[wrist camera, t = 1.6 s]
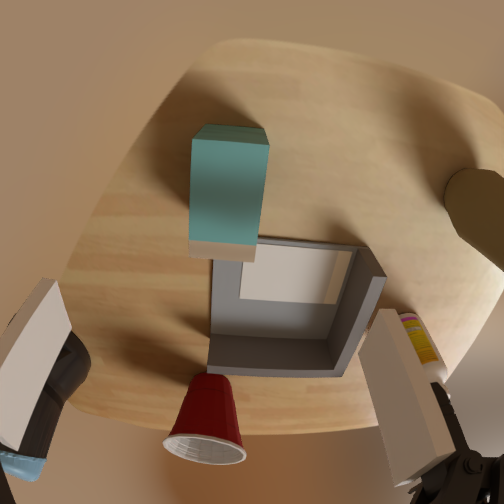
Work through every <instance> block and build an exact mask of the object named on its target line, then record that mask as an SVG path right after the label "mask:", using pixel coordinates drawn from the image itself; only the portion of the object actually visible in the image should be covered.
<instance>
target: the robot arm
mask: <svg viewBox="0 0 504 504" xmlns="http://www.w3.org/2000/svg"><path fill="white" fill-rule="evenodd" d="M71 329H72V327H71V324H70V321H69V318H68V315H67V312H66V309H65V306H64V303H63V300H62V296H61V293H60V290H59V286H58V283H57V280H53V279H47V278H42V279H41V281H40V282H39V283H38V284H37V286H36V287H35V288H34V290H33V291H32V293H31V294H30V295H29V297H28V298H27V299H26V301H25V302H24V304H23V305H22V306H21V308H20V309H19V311H18V312H17V313H16V314H15V315H14V317H13V318H12V320H11V321H10V322H9V324H8V326H7V329H6V330H5V332H4V333H3V335H2V336H1V338H0V504H16V503H15V500H14V498H13V495H12V493H11V490H10V487H9V485H8V482H7V479H6V476H5V473H4V472H6V473H8V474H10V475H12V476H15V477H18V478H20V479H22V480H25V481H30V482H31V481H35V480H37V479H38V478H39V476H40V473H41V471H42V468H43V466H44V463H45V462H46V460H47V459H46V457H47V453H48V450H49V447H50V443H51V441H52V437H53V434H54V432H55V428H56V426H57V423H58V419H59V417H60V414H61V411H62V408H63V406H64V403H65V402H66V400H67V399H68V398H69V397H70V396H71V395H72V394H73V393H74V392H75V391H76V389H77V388H78V387H79V386H80V385H81V384H82V383H83V382H84V381H85V379H86V377H87V375H88V372H89V370H90V367H91V360H90V356H89V354H88V352H87V350H86V348H85V347H84V345H83V344H82V342H81V341H80V340H79V339H78V338H77V337H76V336H75V335H74V334H73V333H72V332H71ZM358 355H359V358H360V362H361V365H362V368H363V371H364V375H365V378H366V381H367V384H368V388H369V391H370V395H371V398H372V402H373V405H374V409H375V412H376V416H377V419H378V423H379V427H380V431H381V434H382V438H383V442H384V445H385V450H386V453H387V458H388V462H389V466H390V470H391V474H392V479H393V483H394V487H396V486H400V485H403V484H408V483H411V482H413V481H415V480H416V479H418V478H419V477H421V479H422V482H421V483H419V484H418V485H416V486H415V487H413V488H411V489H410V491H409V492H408V493H409V494H411V493H412V492H414V491H416V492H415V494H414V495H413V498H412V500H411V502H410V504H504V454H503V455H501V456H500V457H482V456H481V454H480V453H478V452H477V451H474V450H470V449H469V447H468V445H467V443H466V440H465V437H464V434H463V432H462V429H461V427H460V424H459V422H458V419H457V417H456V414H454V409H453V407H452V405H450V404H451V403H450V400H449V397H448V395H447V393H446V391H445V390H444V389H443V388H442V386H441V385H440V384H439V383H438V382H432V383H429V380H428V378H427V376H426V373H425V371H424V369H423V366H422V364H421V362H420V360H419V358H418V355H417V353H416V351H415V349H414V347H413V345H412V343H411V340H410V338H409V336H408V334H407V332H406V330H405V328H404V326H403V324H402V322H401V320H400V318H399V316H398V314H397V312H396V310H395V309H379V311H378V313H377V315H376V317H375V319H374V322H373V324H372V326H371V328H370V330H369V332H368V334H367V336H366V338H365V341H364V343H363V345H362V347H361V349H360V351H359V353H358ZM488 496H490V500H489V502H487V497H488Z"/></svg>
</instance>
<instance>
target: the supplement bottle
mask: <svg viewBox="0 0 504 504" xmlns="http://www.w3.org/2000/svg"><path fill="white" fill-rule="evenodd" d="M398 316H399V318H400V320H401V322H402V324H403V326H404V328H405V330H406V332H407V334H408V336H409V338H410V340H411V343H412V345H413V347H414V349H415V351H416V353H417V355H418V358H419V360H420V362H421V364H422V366H423V369H424V371H425V373H426V376H427V378H428V380H429V383H432V382H438V383H439V384H440V385H441V386H442V388H443V389H444V390H445V391H446V393H447V395H448V397H449V399H450V393H449V391H448V388H447V387H446V386H445V385H444V382H445V381H446V378H447V374H448V371H447V367H446V365H445V363H444V361H443V359H442V357H441V355H440V353H439V351H438V349H437V347H436V345H435V344H434V342H433V340H432V338H431V336H430V334H429V332H428V330H427V329H426V327H425V325H424V323H423V321H422V320H421V318H420V317H419V316H418V315H416V314H413V313H404V314H400V315H398Z"/></svg>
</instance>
